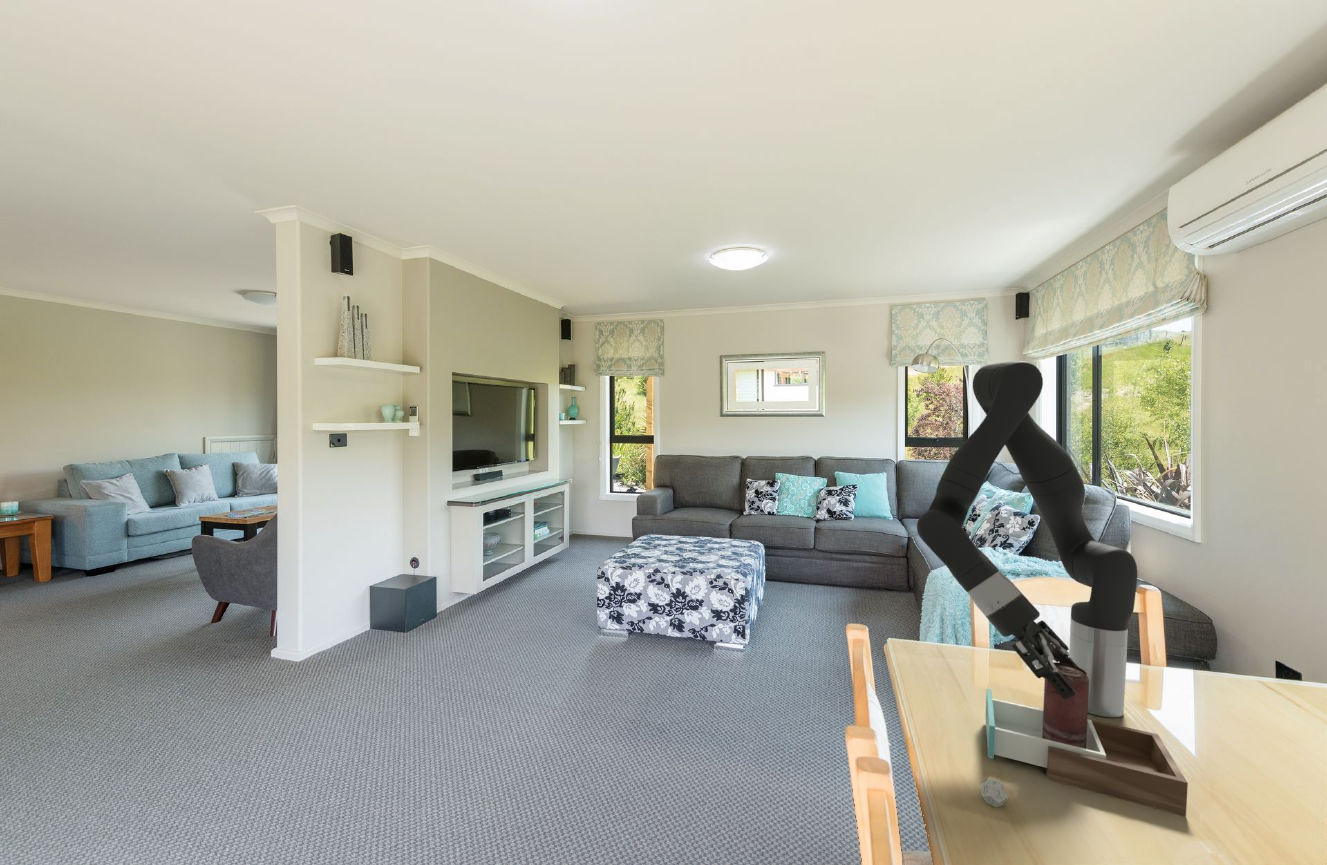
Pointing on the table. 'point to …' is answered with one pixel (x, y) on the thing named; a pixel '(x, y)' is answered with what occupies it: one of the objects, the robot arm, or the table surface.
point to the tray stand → (1124, 769)
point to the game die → (993, 792)
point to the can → (1067, 709)
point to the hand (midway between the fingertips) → (1076, 687)
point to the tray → (1027, 734)
